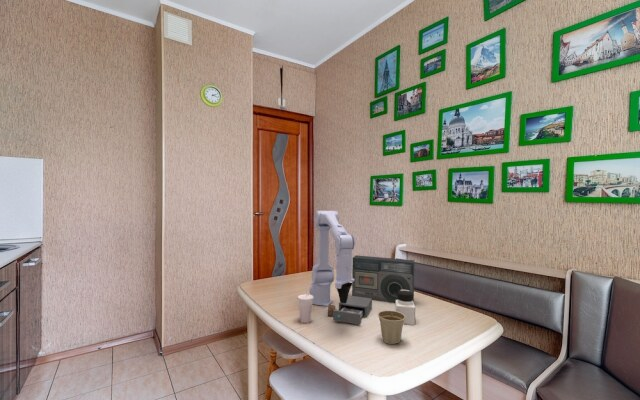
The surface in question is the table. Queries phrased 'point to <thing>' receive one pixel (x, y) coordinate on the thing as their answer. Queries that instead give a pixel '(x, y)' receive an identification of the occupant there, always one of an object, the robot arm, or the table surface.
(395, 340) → the flower pot
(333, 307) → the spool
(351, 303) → the disc
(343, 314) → the tray
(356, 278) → the cassette player
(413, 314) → the medicine bottle
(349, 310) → the disc
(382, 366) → the table surface
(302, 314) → the smoothie
